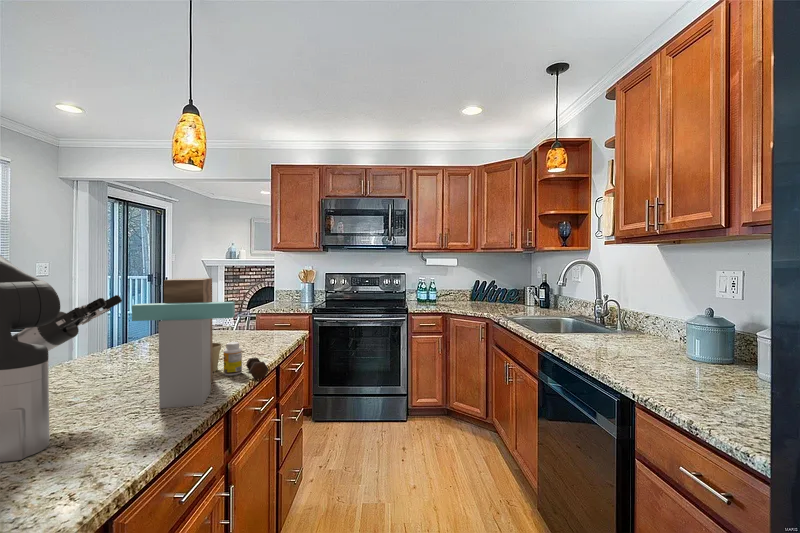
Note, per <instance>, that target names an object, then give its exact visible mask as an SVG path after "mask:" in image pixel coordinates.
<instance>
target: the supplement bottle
mask: <svg viewBox="0 0 800 533" xmlns="http://www.w3.org/2000/svg"><path fill="white" fill-rule="evenodd" d="M225 345H226V346H225V349H224V350H223V374H224V375H225V376H231V377H233V376H238V375H240V374H241V373H242V372H243V369H242V368H243V359H242V358H243V355H242V353H243V350H242V348H241V347H240V342H238V341H231V342H226V343H225Z"/></svg>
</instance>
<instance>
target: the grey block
mask: <svg viewBox="0 0 800 533" xmlns="http://www.w3.org/2000/svg"><path fill="white" fill-rule="evenodd" d="M211 383H212V382H211V371H210V319H182V320H158V388H159V389H158V392H159V393H158V401H159V403H158V404H159V406H158V409H167V408H169V409H170V408H181V407H182V408H183V407H194V406H203V405H204V404H205V402H206V400H207V399H208V397H209V396H210V394H212V392H211V387H212V386H211Z"/></svg>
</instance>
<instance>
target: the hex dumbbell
mask: <svg viewBox="0 0 800 533" xmlns="http://www.w3.org/2000/svg"><path fill="white" fill-rule="evenodd" d="M245 367H246V368H247V369H248V372H249V374H250V375H251V376H252V377H253V379H255V380H257V379H258V380H259V379H262V378H265V377H266V376H267V374H268V372H269V367H268V366H267V364H266V363H265V361H261V360H260V359H259V357H251V358H249V359H247V360H246V364H245Z"/></svg>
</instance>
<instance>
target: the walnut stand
mask: <svg viewBox="0 0 800 533" xmlns="http://www.w3.org/2000/svg"><path fill="white" fill-rule="evenodd" d="M196 302H213V278H212V277H191V278H190V277H184V278H183V277H182V278H181V277H180V278H179V277H178V278H170V279H164V280H163V303H196ZM212 343H213V319H210V371H211V383H212V381H213V376H214V374H213V373H214V372H213V347H212Z"/></svg>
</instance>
